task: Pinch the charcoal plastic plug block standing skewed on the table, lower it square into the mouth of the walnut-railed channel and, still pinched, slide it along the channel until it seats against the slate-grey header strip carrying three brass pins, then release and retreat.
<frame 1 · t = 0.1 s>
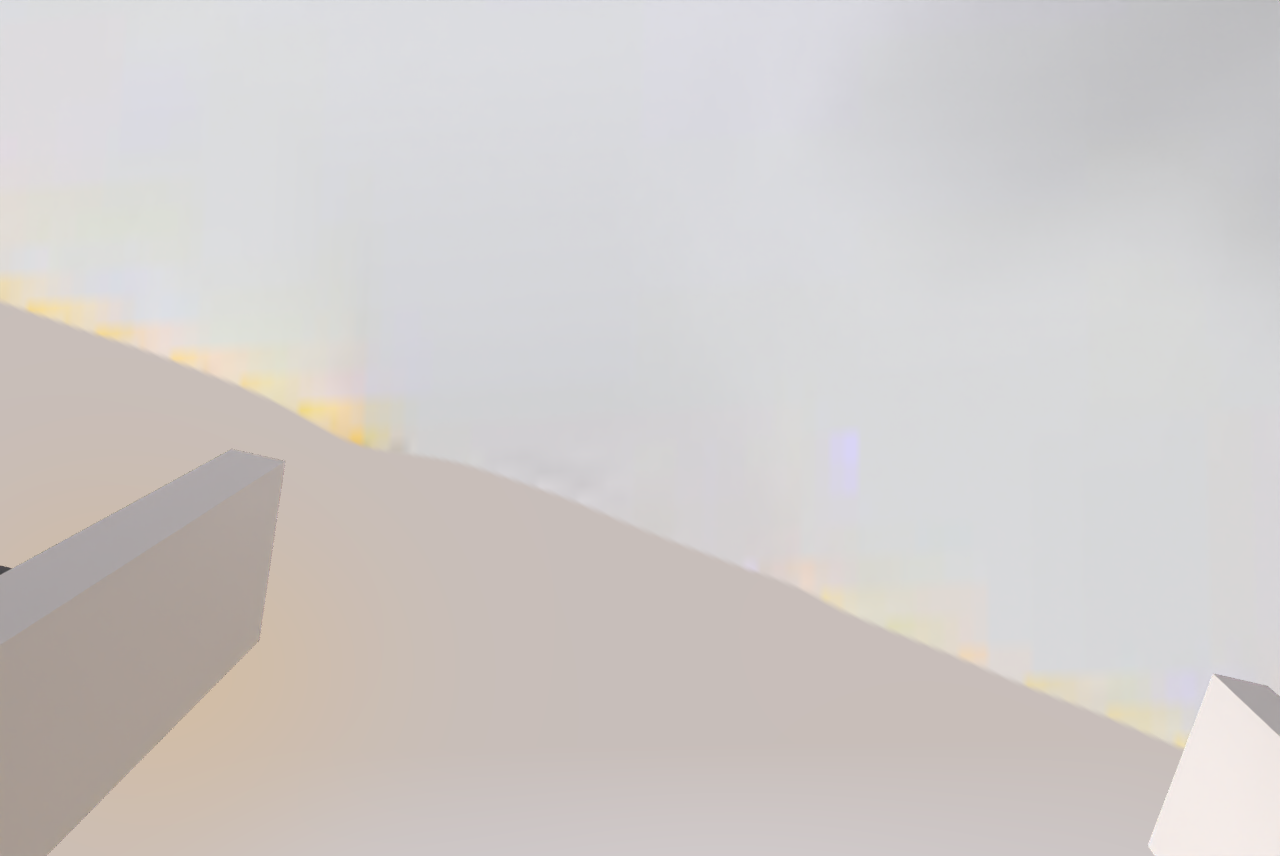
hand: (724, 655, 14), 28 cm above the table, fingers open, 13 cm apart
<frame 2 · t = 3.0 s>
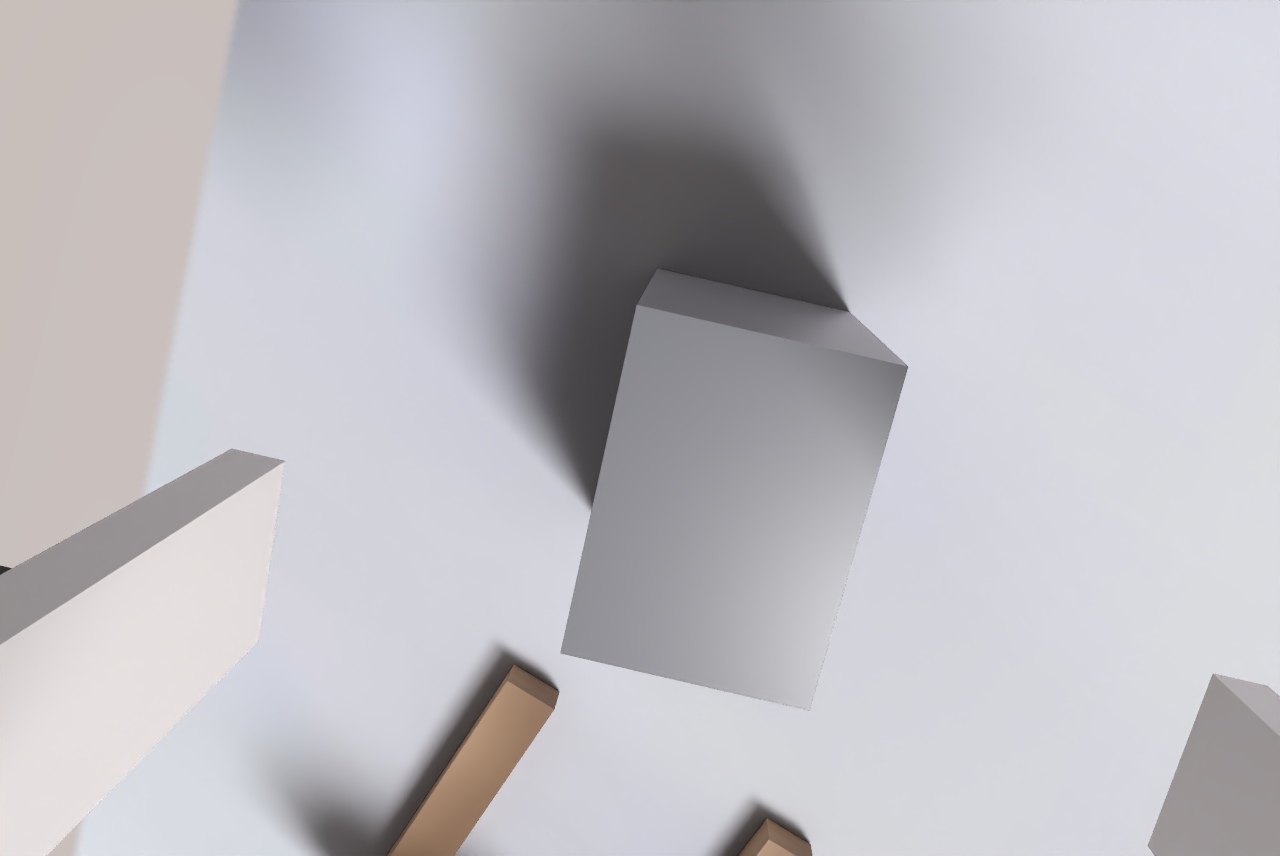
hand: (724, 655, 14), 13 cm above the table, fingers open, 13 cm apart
plug block: (721, 420, 27), on the table
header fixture: (664, 755, 30), on the table
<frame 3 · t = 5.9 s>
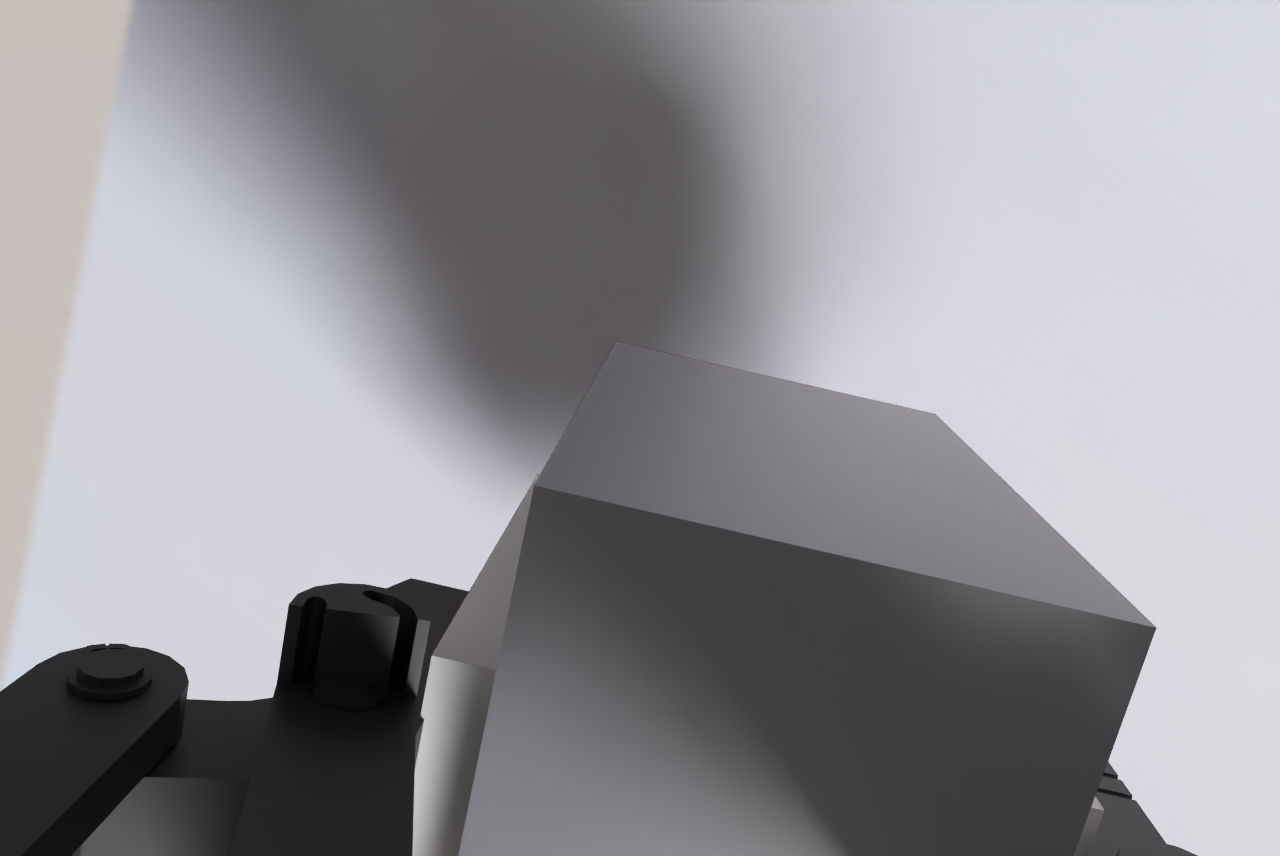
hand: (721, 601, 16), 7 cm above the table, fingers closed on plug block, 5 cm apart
plug block: (722, 586, 17), point 6 cm above the table, touching gripper
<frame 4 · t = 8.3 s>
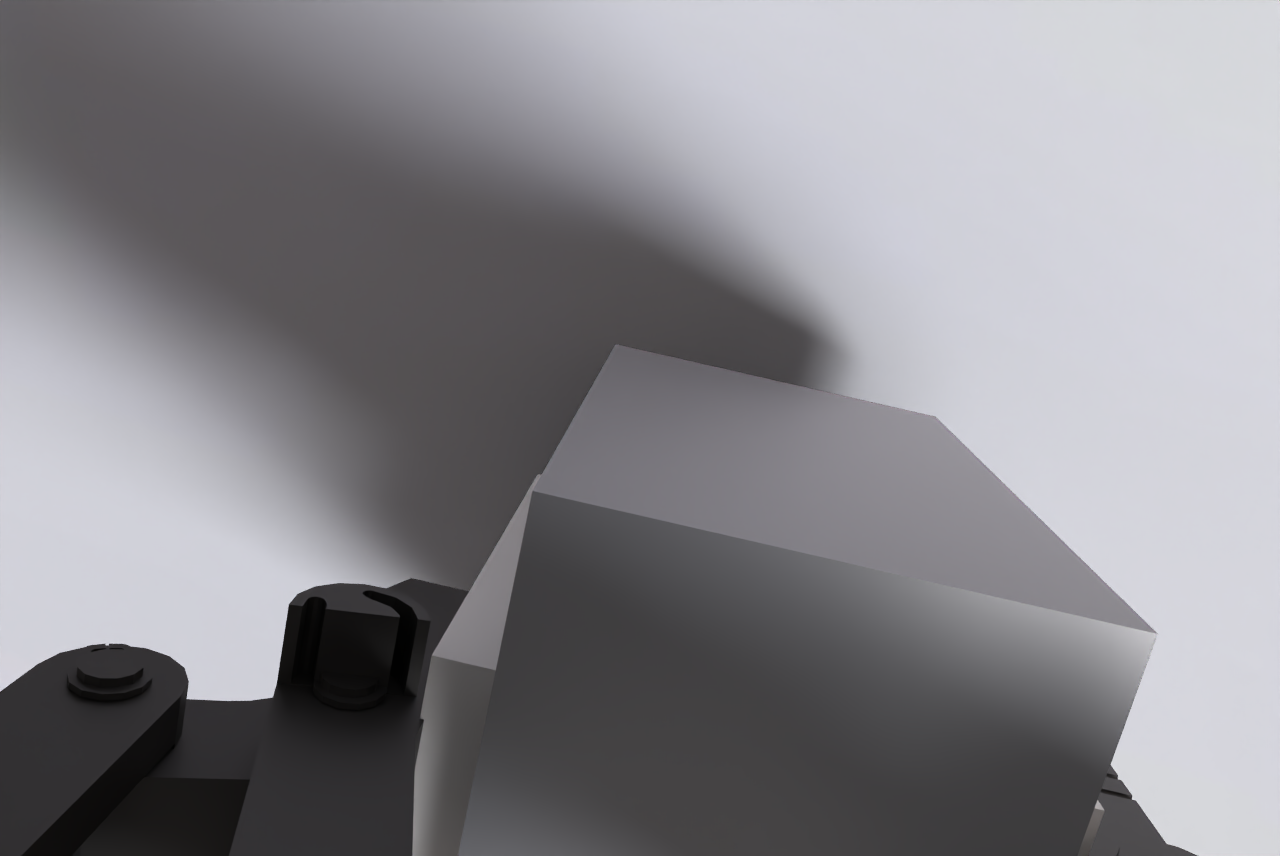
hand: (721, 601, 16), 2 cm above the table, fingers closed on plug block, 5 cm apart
plug block: (721, 589, 17), point 2 cm above the table, touching gripper
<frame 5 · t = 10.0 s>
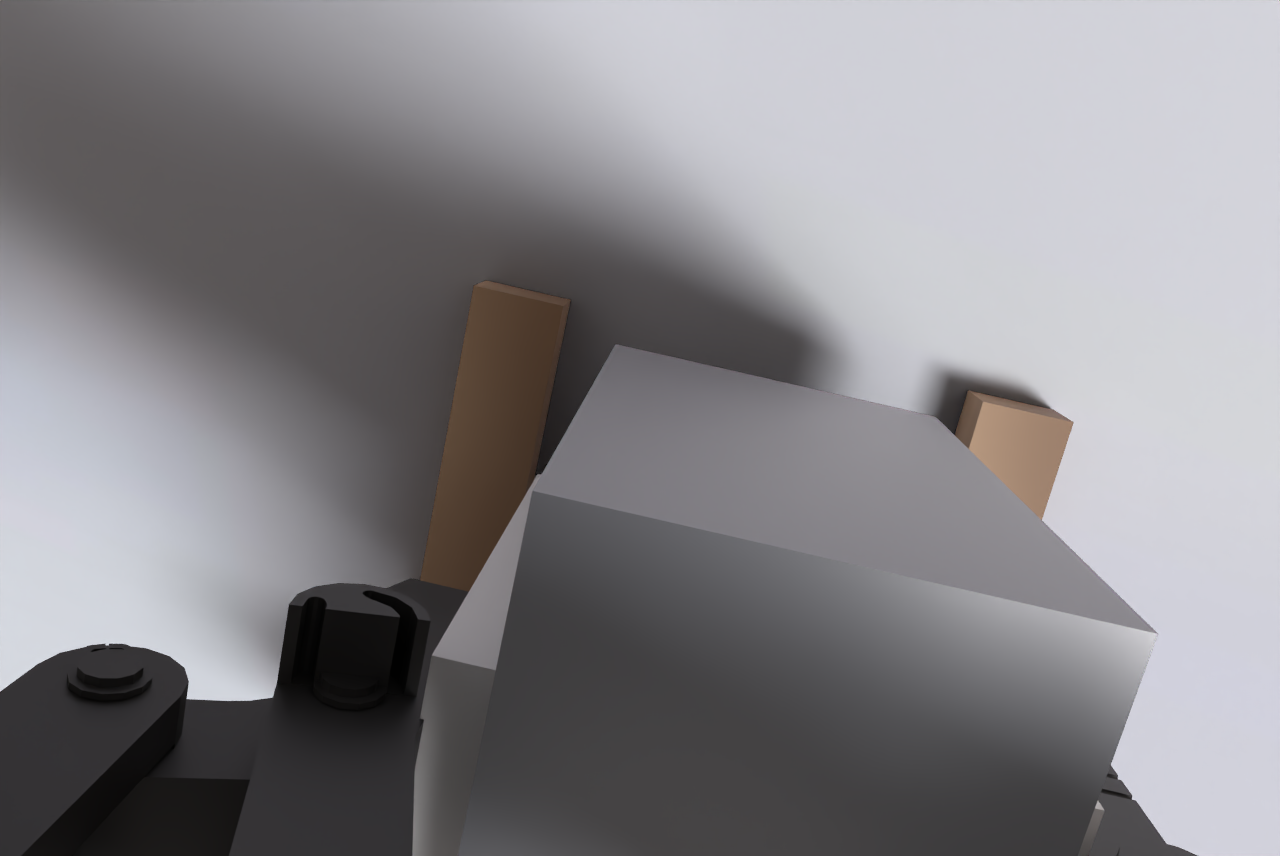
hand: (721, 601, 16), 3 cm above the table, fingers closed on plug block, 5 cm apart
plug block: (721, 589, 17), point 2 cm above the table, touching gripper
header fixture: (769, 344, 18), on the table
when the fingers open (2 cm above the table, at t = 11.0 s): plug block drops 2 cm, on the table.
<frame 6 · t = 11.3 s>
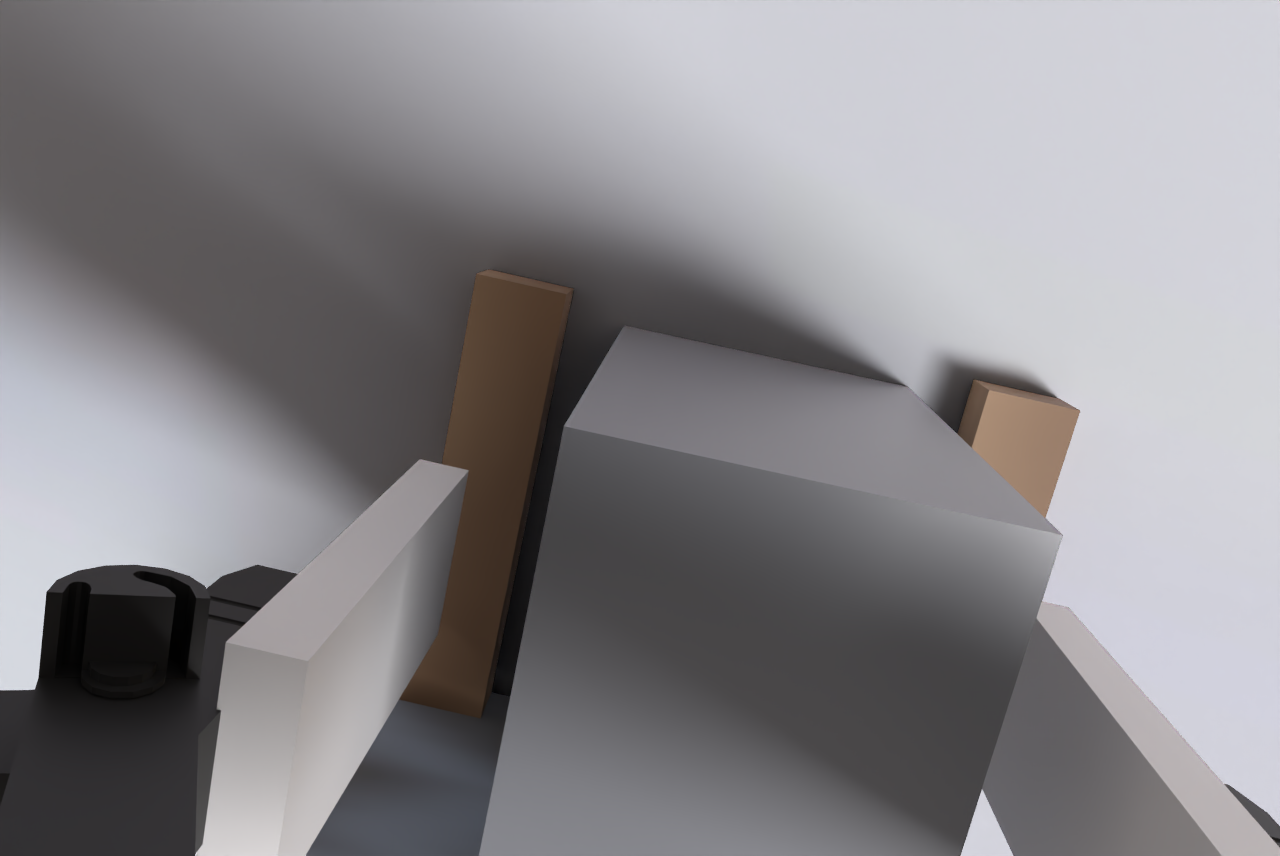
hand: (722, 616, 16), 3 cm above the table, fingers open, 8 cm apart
plug block: (720, 543, 19), on the table
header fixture: (773, 333, 18), on the table
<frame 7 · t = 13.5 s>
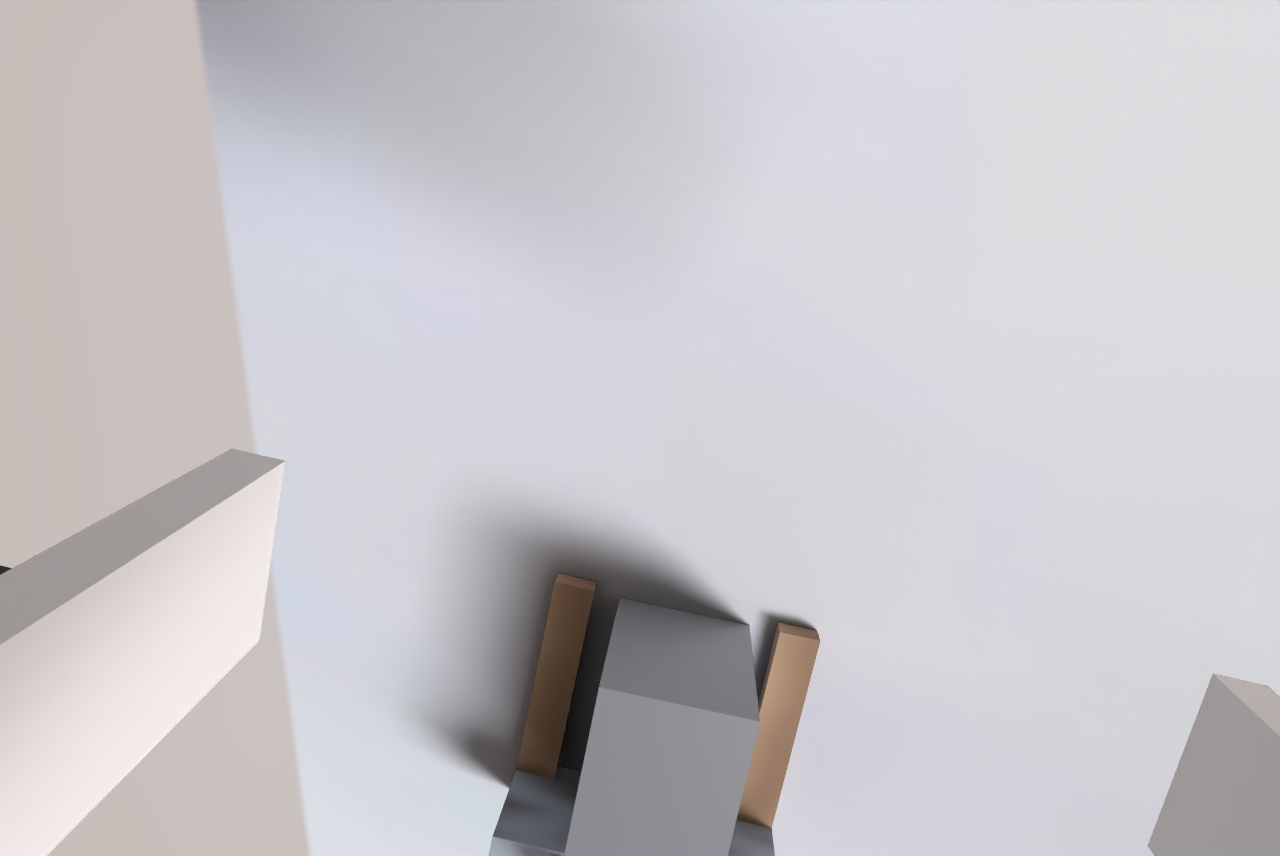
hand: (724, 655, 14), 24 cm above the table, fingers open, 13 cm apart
plug block: (665, 695, 40), on the table
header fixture: (687, 601, 39), on the table
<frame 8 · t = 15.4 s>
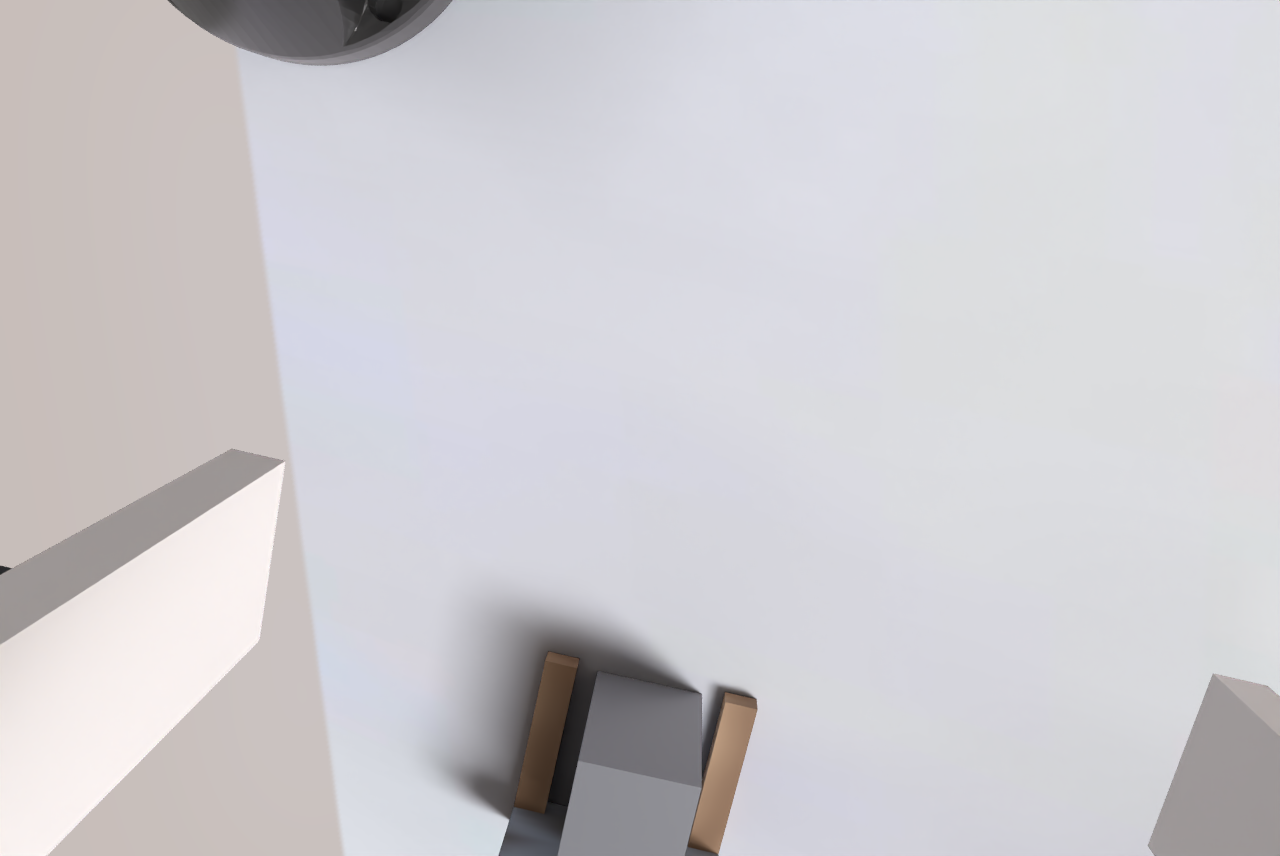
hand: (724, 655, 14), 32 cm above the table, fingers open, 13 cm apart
plug block: (634, 747, 50), on the table
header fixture: (652, 675, 49), on the table
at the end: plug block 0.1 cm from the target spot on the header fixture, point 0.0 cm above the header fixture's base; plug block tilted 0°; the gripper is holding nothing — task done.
